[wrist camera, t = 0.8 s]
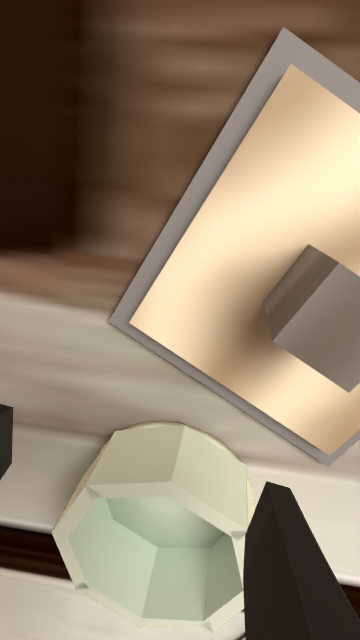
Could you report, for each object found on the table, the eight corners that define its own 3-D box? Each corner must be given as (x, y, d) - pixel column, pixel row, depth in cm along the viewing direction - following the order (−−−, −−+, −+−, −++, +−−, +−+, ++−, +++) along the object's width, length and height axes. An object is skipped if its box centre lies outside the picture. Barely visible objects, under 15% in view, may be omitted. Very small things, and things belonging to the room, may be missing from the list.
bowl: (288, 484, 19) (302, 565, 15) (193, 570, 23) (182, 654, 19) (143, 390, 19) (114, 445, 15) (69, 492, 22) (29, 560, 18)
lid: (537, 252, 13) (717, 283, 8) (325, 445, 17) (359, 540, 13) (288, 71, 13) (319, -13, 8) (133, 317, 17) (90, 364, 12)
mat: (570, 244, 13) (582, 245, 13) (325, 460, 18) (327, 466, 18) (282, 33, 13) (283, 27, 12) (111, 318, 18) (108, 321, 17)
